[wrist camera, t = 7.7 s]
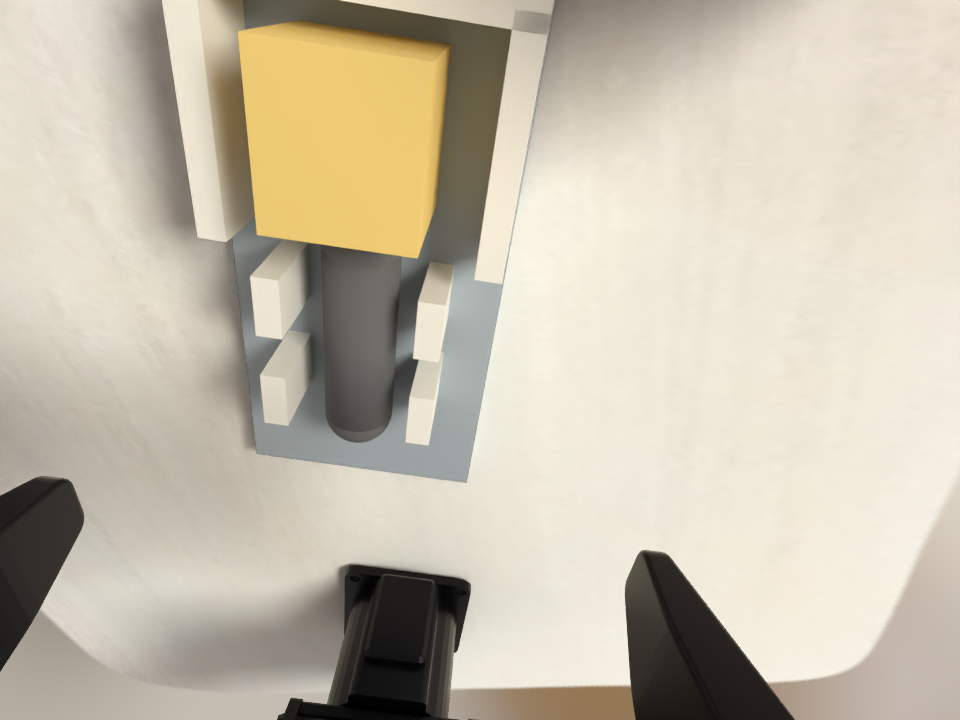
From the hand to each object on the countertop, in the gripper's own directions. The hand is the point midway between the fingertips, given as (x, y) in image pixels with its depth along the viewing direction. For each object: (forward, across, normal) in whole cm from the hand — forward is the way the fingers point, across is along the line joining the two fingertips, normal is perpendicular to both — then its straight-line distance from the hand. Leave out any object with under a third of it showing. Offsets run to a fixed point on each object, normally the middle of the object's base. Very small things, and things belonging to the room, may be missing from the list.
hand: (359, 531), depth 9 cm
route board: (+12, +2, +1) cm, 12 cm away
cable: (+11, +2, 0) cm, 11 cm away
